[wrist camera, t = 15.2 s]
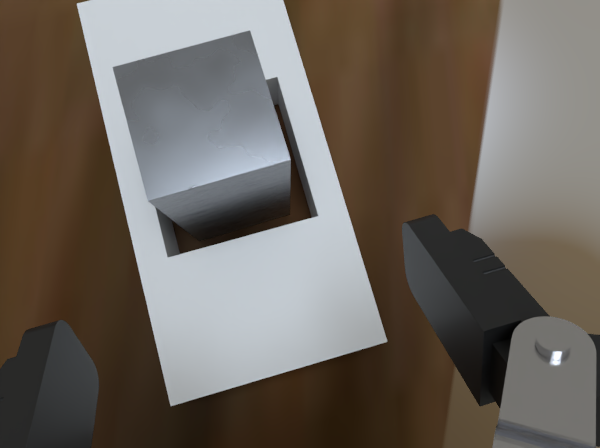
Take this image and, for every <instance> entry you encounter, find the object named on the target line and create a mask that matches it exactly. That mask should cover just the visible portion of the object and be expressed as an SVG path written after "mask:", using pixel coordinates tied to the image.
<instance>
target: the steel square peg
mask: <svg viewBox="0 0 600 448" xmlns="http://www.w3.org/2000/svg"><path fill="white" fill-rule="evenodd" d="M113 71H114V75H115V79H116V83H117V86H118V90H119V94H120V98H121V102H122V105H123V109H124V113H125V117H126V120H127V124H128V128H129V132H130V136H131V139H132V143H133V147H134V151H135V155H136V158H137V162H138V166H139V170H140V174H141V177H142V181H143V185H144V189H145V193H146V196H147V200H148V202H150V203H151V204H152V205H154V206H155V207H156V208H157V209H159V210H160V211H161V212H163V213H164V214H165V215H166V216H168V217H169V218H170V219H172V220H173V221H174V222H175V223H177V224H178V225H179V226H181V227H182V228H183V229H184V230H186V231H187V232H188V233H189V234H191V235H192V236H193V237H195V238H196V239H197V240H198V241H202V240H205V239H209V238H212V237H216V236H219V235H222V234H226V233H229V232H232V231H236V230H239V229H243V228H246V227H249V226H253V225H256V224H259V223H263V222H266V221H269V220H273V219H276V218H280V217H283V216H286V215H290V174H291V159H290V156H289V152H288V149H287V146H286V143H285V140H284V137H283V133H282V130H281V127H280V124H279V121H278V118H277V114H276V111H275V108H274V105H273V102H272V98H271V95H270V92H269V89H268V86H267V83H266V79H265V76H264V73H263V70H262V67H261V64H260V60H259V57H258V54H257V51H256V48H255V44H254V41H253V38H252V35H251V32H250V30H249V31H245V32H242V33H238V34H234V35H230V36H227V37H223V38H219V39H215V40H212V41H208V42H204V43H201V44H197V45H193V46H189V47H186V48H182V49H178V50H174V51H171V52H167V53H163V54H160V55H156V56H152V57H148V58H145V59H141V60H137V61H133V62H130V63H126V64H122V65H119V66H115V67H113Z"/></svg>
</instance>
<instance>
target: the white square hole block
mask: <svg viewBox="0 0 600 448" xmlns="http://www.w3.org/2000/svg"><path fill="white" fill-rule="evenodd" d="M77 7H78V11H79V15H80V20H81V24H82V28H83V32H84V37H85V41H86V45H87V50H88V54H89V58H90V63H91V67H92V71H93V75H94V80H95V84H96V88H97V93H98V97H99V101H100V105H101V110H102V114H103V118H104V123H105V127H106V131H107V135H108V140H109V144H110V148H111V153H112V157H113V161H114V166H115V170H116V174H117V178H118V183H119V187H120V191H121V196H122V200H123V204H124V208H125V213H126V217H127V221H128V226H129V230H130V234H131V239H132V243H133V247H134V251H135V256H136V260H137V264H138V269H139V273H140V277H141V281H142V286H143V290H144V294H145V299H146V303H147V307H148V311H149V316H150V320H151V324H152V329H153V333H154V337H155V342H156V346H157V350H158V354H159V359H160V363H161V367H162V372H163V376H164V380H165V384H166V389H167V393H168V397H169V402H170V406H173V405H177V404H180V403H183V402H187V401H190V400H194V399H197V398H200V397H204V396H207V395H210V394H214V393H217V392H220V391H224V390H227V389H230V388H234V387H237V386H241V385H244V384H247V383H251V382H254V381H257V380H261V379H264V378H267V377H271V376H274V375H278V374H281V373H284V372H288V371H291V370H294V369H298V368H301V367H304V366H308V365H311V364H314V363H318V362H321V361H325V360H328V359H331V358H335V357H338V356H341V355H345V354H348V353H351V352H355V351H358V350H362V349H365V348H368V347H372V346H375V345H378V344H382V343H385V342H387V339H386V335H385V332H384V329H383V325H382V322H381V319H380V316H379V312H378V309H377V306H376V303H375V299H374V296H373V293H372V289H371V286H370V283H369V280H368V276H367V273H366V270H365V267H364V263H363V260H362V257H361V253H360V250H359V247H358V244H357V240H356V237H355V234H354V231H353V227H352V224H351V221H350V217H349V214H348V211H347V208H346V204H345V201H344V198H343V195H342V191H341V188H340V185H339V181H338V178H337V175H336V172H335V168H334V165H333V162H332V159H331V155H330V152H329V149H328V145H327V142H326V139H325V136H324V132H323V129H322V126H321V123H320V119H319V116H318V113H317V109H316V106H315V103H314V100H313V96H312V93H311V90H310V87H309V83H308V80H307V77H306V73H305V70H304V67H303V64H302V60H301V57H300V54H299V51H298V47H297V44H296V41H295V37H294V34H293V31H292V28H291V24H290V21H289V18H288V15H287V11H286V8H285V5H284V1H283V0H90V1H86V2H82V3H78V4H77ZM249 30H250V32H251V35H252V38H253V41H254V44H255V48H256V51H257V54H258V57H259V60H260V64H261V67H262V70H263V73H264V76H265V79H266V83H267V86H268V89H269V92H270V95H271V98H272V102H273V105H277V104H279V108H280V111H281V114H282V118H283V121H284V125H285V128H286V132H287V135H288V138H289V142H290V145H291V149H292V152H293V155H294V159H295V162H296V166H297V169H298V172H299V176H300V179H301V183H302V186H303V189H304V193H305V196H306V200H307V203H308V207H309V210H310V213H311V217H312V218H309V219H306V220H302V221H298V222H295V223H291V224H288V225H284V226H280V227H277V228H273V229H270V230H266V231H262V232H259V233H255V234H251V235H248V236H244V237H241V238H237V239H233V240H230V241H226V242H223V243H219V244H215V245H212V246H208V247H204V248H201V249H197V250H194V251H190V252H186V253H183V254H180V252H179V248H178V244H177V240H176V236H175V232H174V228H173V224H172V220H171V219H170V218H169V217H168V216H166V215H165V214H164V213H163V212H161V211H160V210H159V209H157V208H156V207H155V206H154V205H152V204H151V203H150V202H148V200H147V196H146V193H145V189H144V185H143V181H142V177H141V174H140V170H139V166H138V162H137V158H136V155H135V151H134V147H133V143H132V139H131V136H130V132H129V128H128V124H127V120H126V117H125V113H124V109H123V105H122V102H121V98H120V94H119V90H118V86H117V83H116V79H115V75H114V71H113V67H115V66H119V65H122V64H126V63H130V62H133V61H137V60H141V59H145V58H148V57H152V56H156V55H160V54H163V53H167V52H171V51H174V50H178V49H182V48H186V47H189V46H193V45H197V44H201V43H204V42H208V41H212V40H215V39H219V38H223V37H227V36H230V35H234V34H238V33H242V32H245V31H249Z"/></svg>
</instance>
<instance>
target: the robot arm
mask: <svg viewBox="0 0 600 448" xmlns="http://www.w3.org/2000/svg"><path fill="white" fill-rule="evenodd" d="M402 234H403V247H404V260H405V271H406V277H407V281H408V284H409V287H410V289H411V292H412V294H413V296H414V297H415V299H416V301H417V302H418V304H419V306H420V307H421V309H422V311H423V312H424V314H425V316H426V317H427V319H428V321H429V322H430V324H431V326H432V327H433V329H434V331H435V332H436V334H437V336H438V337H439V339H440V341H441V342H442V344H443V346H444V347H445V349H446V351H447V352H448V354H449V356H450V358H451V359H452V361H453V363H454V364H455V366H456V368H457V369H458V371H459V373H460V374H461V376H462V378H463V379H464V381H465V383H466V384H467V386H468V388H469V389H470V391H471V393H472V394H473V396H474V398H475V399H476V401H477V403H478V404H479V406H483V405H486V404H489V403H492V402H496V403H497V405H498V406H499V408H500V414H499V420H498V425H497V426H496V431H495V436H494V442H493V448H596V446H598V447H599V446H600V335H593V334H587V333H586V332H585V331H583V329H581V328H580V327H578V326H577V325H575V324H573V323H571V322H569V321H566V320H563V319H560V318H556V317H550V316H549V315H548V314H547V313H546V312H545V311H544V309H543V308H542V307H541V306H540V305H539V304H538V303H537V301H536V300H535V299H534V298H533V297H532V296H531V295H530V294H529V292H528V291H527V290H526V289H525V288H524V287H523V286H522V285H521V283H520V282H519V281H518V280H517V279H516V278H515V277H514V275H513V274H512V273H511V272H510V271H509V270H508V269H506V268H505V265H504V264H503V263H502V262H501V261H500V260H499V258H498V257H495V255H494V253H493V252H492V250H491V249H490V248H489V247H488V246H487V245H486V244H485V242H484V241H483V240H482V239H481V238H479V237H477V236H475V235H473V234H471V233H469V232H467V231H465V230H464V229H459V230H455V231H452V232H450V231H449V230H448V229H447V228H446V226H445V225H444V224H443V223H442V222H441V220H440V219H439V218H438V217H437V216H436V215H434V214H432V215H429V216H425V217H422V218H418V219H415V220H411V221H408V222H404V223H403V226H402ZM98 390H99V379H98V374H97V370H96V367H95V365H94V362H93V361H92V359H91V358H90V356H89V355H88V353H87V352H86V350H85V349H84V347H83V346H82V344H81V343H80V341H79V340H78V338H77V337H76V335H75V334H74V332H73V331H72V329H71V328H70V326H69V325H68V324H67V323H66V322H65V321H63V320H59V321H56V322H52V323H49V324H45V325H42V326H38V327H35V328H31V329H28V330H26V331H25V333H24V335H23V337H22V340H21V344H20V347H19V350H18V353H17V356H16V357H14V358H10V359H7V361H6V362H5V363H4V365H3V366H2V367H1V369H0V448H91V444H92V437H93V429H94V421H95V414H96V406H97V398H98Z"/></svg>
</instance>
